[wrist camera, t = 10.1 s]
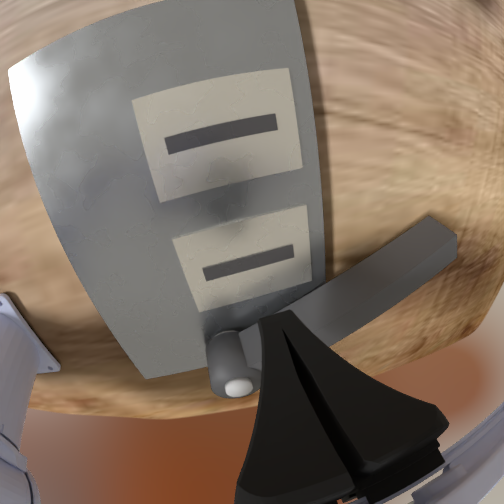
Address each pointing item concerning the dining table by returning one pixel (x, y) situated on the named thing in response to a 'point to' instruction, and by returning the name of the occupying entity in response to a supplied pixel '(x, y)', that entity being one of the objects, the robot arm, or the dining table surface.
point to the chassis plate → (179, 169)
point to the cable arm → (339, 303)
